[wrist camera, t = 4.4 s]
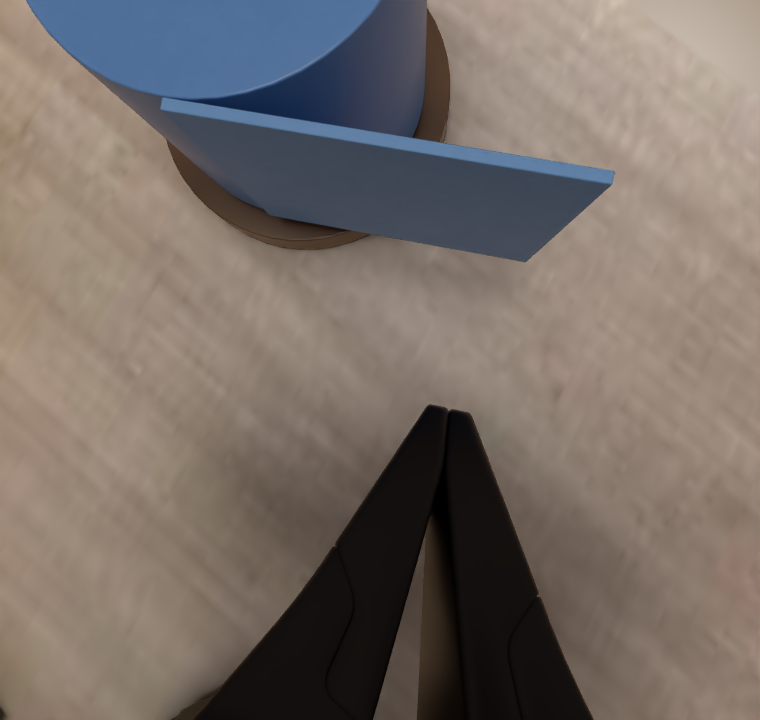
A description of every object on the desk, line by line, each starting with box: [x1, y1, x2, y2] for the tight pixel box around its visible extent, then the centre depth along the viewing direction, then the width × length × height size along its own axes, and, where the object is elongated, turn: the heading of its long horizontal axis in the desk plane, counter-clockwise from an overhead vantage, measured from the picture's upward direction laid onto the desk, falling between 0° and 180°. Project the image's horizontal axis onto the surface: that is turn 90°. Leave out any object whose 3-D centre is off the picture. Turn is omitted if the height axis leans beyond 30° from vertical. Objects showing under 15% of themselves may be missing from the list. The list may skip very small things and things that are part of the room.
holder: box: [166, 9, 450, 249], centre depth 19 cm, size 12×12×2 cm
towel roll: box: [26, 0, 615, 262], centre depth 13 cm, size 10×15×10 cm
